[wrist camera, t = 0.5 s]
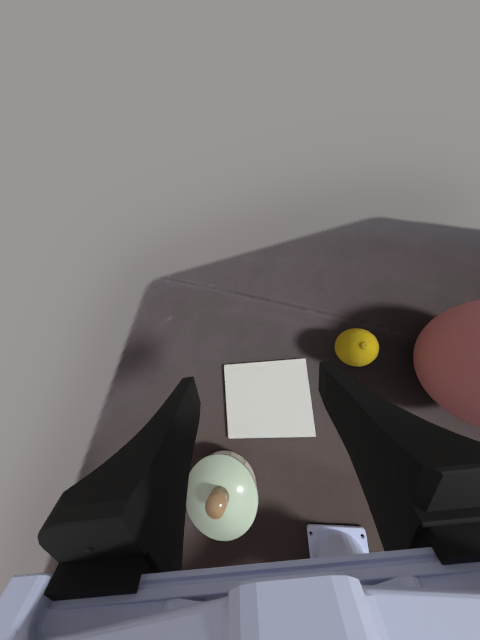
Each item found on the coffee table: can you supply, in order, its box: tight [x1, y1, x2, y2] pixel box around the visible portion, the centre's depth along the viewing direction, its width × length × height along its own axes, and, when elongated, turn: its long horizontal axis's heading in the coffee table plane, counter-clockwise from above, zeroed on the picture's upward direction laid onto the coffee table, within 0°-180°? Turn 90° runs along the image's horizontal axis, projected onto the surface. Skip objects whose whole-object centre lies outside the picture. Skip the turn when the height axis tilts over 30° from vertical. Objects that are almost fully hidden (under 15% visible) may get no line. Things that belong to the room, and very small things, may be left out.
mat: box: [224, 359, 316, 438], centre depth 37 cm, size 12×14×1 cm
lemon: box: [335, 328, 379, 367], centre depth 33 cm, size 6×6×8 cm
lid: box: [186, 453, 258, 541], centre depth 32 cm, size 11×11×3 cm
